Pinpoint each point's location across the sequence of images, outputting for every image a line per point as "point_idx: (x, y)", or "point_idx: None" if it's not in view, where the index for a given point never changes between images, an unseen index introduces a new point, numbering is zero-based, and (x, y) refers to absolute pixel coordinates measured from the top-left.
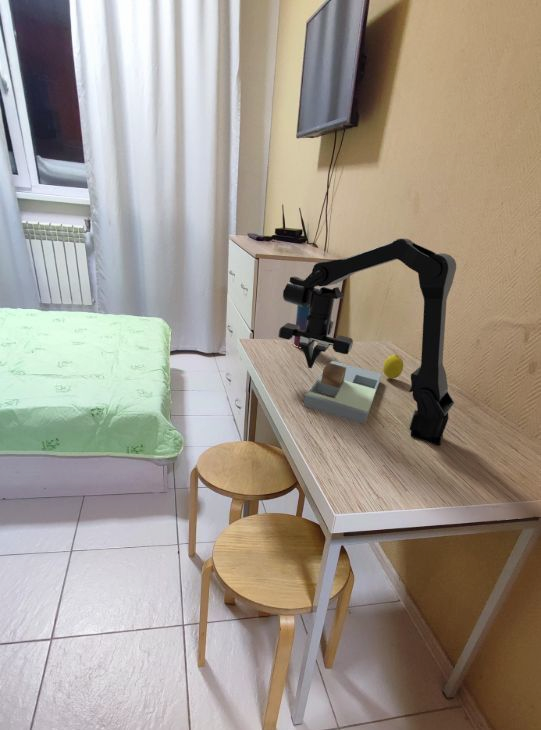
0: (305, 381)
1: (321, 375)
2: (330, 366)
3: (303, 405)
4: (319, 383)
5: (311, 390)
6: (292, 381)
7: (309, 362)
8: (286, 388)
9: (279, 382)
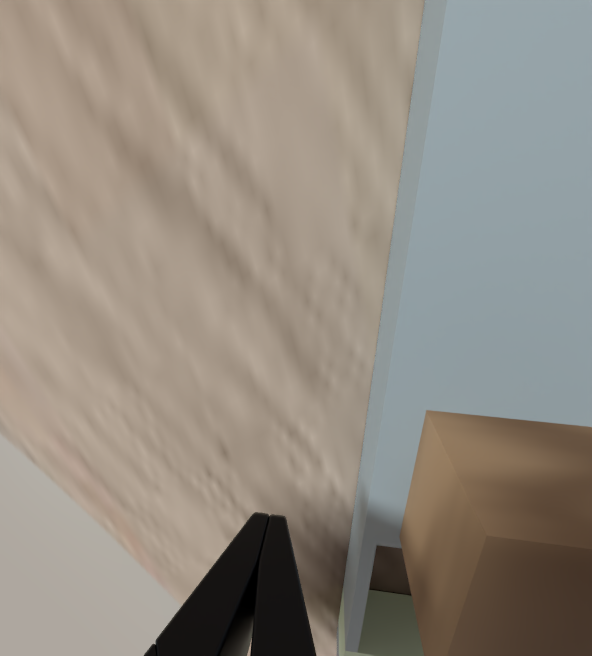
0: (272, 397)
1: (386, 419)
2: (520, 627)
3: (337, 633)
4: (390, 545)
5: (356, 640)
6: (199, 437)
7: (246, 641)
8: (205, 525)
9: (143, 482)
